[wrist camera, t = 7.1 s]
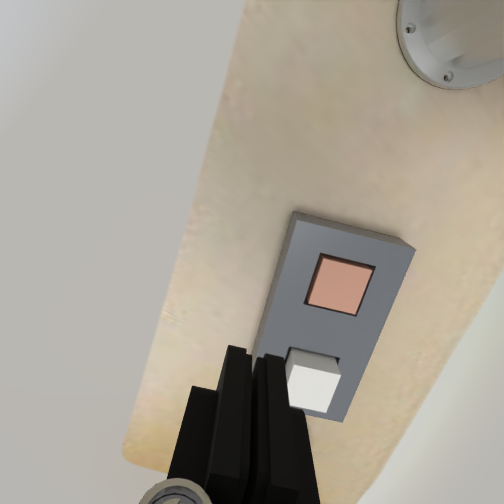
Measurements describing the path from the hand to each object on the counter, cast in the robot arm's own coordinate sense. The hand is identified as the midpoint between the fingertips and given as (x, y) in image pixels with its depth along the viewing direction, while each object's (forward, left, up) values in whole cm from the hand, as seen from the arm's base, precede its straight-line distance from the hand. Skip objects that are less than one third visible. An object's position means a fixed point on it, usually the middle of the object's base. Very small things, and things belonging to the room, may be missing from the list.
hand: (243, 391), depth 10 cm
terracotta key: (+5, +10, -26) cm, 28 cm away
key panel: (+10, +10, -27) cm, 31 cm away
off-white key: (+15, +10, -24) cm, 30 cm away
